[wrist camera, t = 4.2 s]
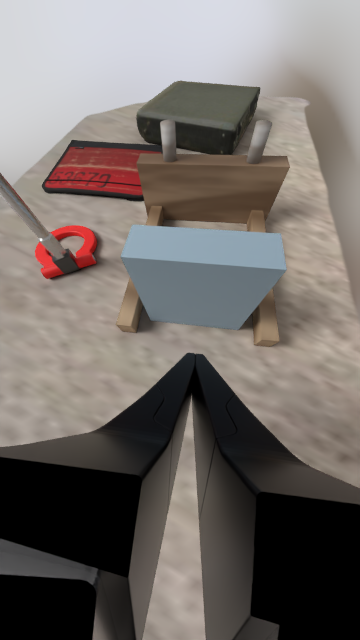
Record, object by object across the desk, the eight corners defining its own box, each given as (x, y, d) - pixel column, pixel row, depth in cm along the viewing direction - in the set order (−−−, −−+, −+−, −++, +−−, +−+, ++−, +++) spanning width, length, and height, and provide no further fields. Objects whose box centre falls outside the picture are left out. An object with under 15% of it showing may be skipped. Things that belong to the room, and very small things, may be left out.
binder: (71, 138, 35) (168, 143, 33) (78, 152, 38) (169, 158, 35) (33, 185, 30) (147, 195, 28) (44, 199, 32) (150, 209, 30)
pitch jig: (278, 347, 18) (377, 297, 9) (114, 330, 19) (49, 271, 10) (262, 213, 26) (302, 118, 17) (151, 208, 28) (133, 118, 19)
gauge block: (237, 330, 19) (286, 269, 10) (151, 321, 20) (120, 257, 11) (237, 256, 23) (270, 167, 14) (166, 251, 24) (154, 163, 15)
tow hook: (40, 241, 26) (42, 284, 22) (-76, 114, 15) (-115, 155, 11) (93, 226, 27) (104, 264, 23) (24, 97, 16) (23, 128, 12)
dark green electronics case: (242, 162, 34) (251, 126, 29) (134, 151, 37) (127, 117, 32) (254, 115, 43) (262, 81, 38) (167, 109, 46) (164, 77, 41)
